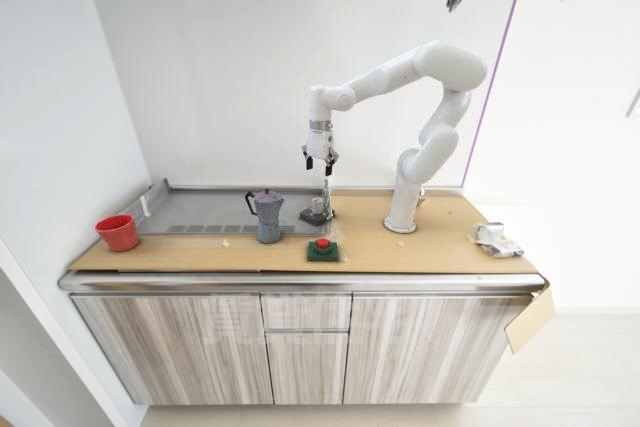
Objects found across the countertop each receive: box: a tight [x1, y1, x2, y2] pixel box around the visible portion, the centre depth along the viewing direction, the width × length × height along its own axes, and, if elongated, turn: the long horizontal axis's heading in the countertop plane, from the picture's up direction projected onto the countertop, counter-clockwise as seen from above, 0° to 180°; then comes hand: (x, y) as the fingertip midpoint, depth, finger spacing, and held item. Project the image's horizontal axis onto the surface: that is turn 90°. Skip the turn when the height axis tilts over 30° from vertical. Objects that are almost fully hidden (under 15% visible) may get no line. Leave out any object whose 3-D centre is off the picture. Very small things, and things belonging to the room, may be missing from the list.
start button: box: [317, 237, 329, 248], centre depth 81 cm, size 4×4×2 cm
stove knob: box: [311, 196, 324, 214], centre depth 102 cm, size 5×5×6 cm
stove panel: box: [299, 205, 336, 227], centre depth 105 cm, size 12×10×3 cm
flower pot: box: [94, 213, 139, 252], centre depth 83 cm, size 11×11×10 cm
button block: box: [307, 239, 339, 263], centre depth 82 cm, size 10×8×4 cm
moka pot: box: [244, 188, 286, 244], centre depth 87 cm, size 10×15×20 cm, turn 78°
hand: (318, 172), depth 92 cm, fingers open, 9 cm apart
